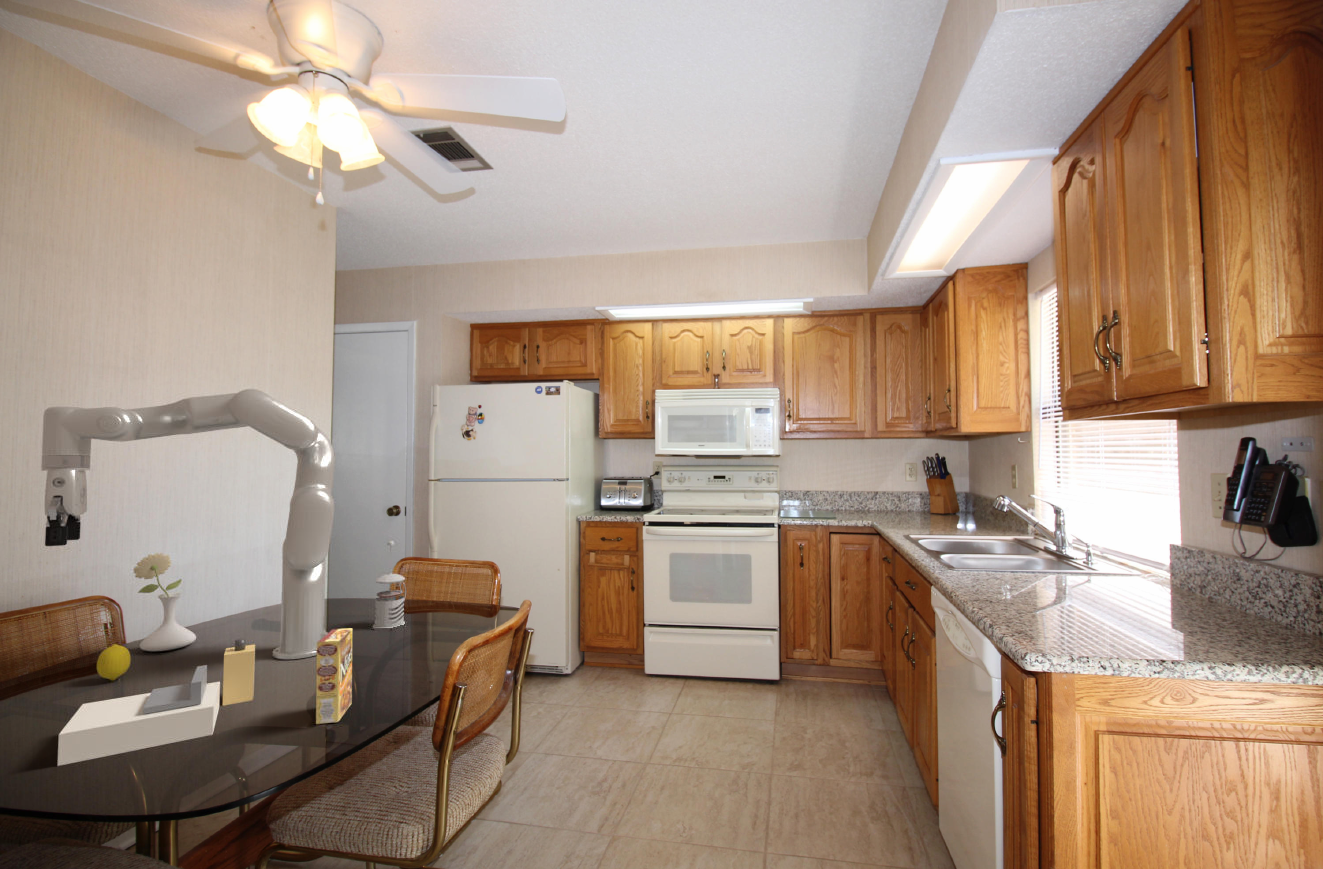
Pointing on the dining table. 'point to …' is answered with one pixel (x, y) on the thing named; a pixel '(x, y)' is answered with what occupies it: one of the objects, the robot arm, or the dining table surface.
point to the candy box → (334, 675)
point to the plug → (238, 673)
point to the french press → (389, 601)
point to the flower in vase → (169, 631)
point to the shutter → (178, 694)
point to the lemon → (113, 662)
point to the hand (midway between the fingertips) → (63, 542)
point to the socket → (133, 726)
